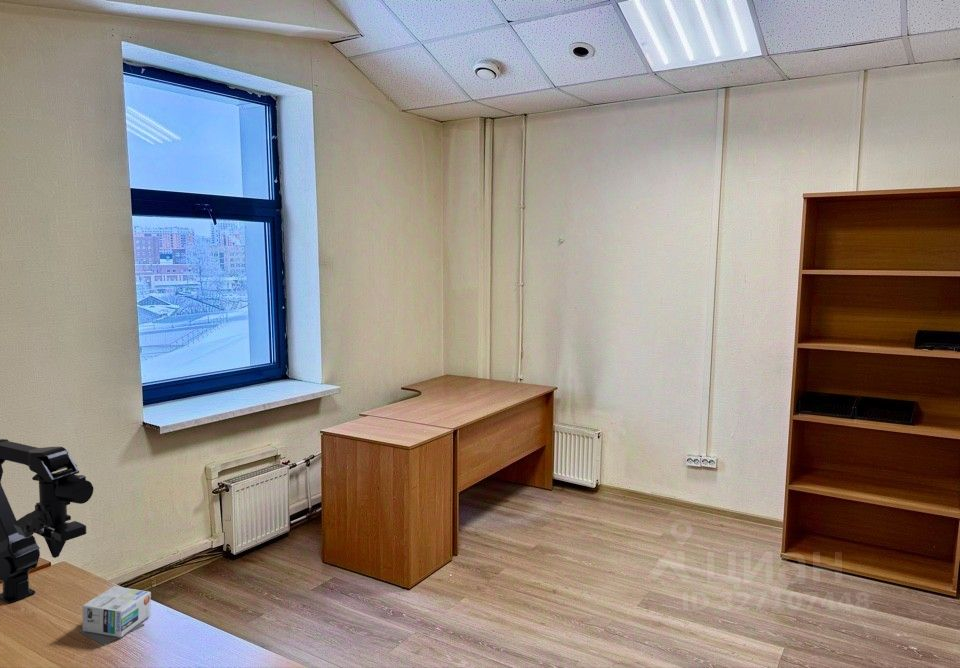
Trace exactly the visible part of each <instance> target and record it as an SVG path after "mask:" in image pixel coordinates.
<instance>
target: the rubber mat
mask: <svg viewBox="0 0 960 668" xmlns="http://www.w3.org/2000/svg"><path fill="white" fill-rule="evenodd" d="M142 627H145V624H144V623H142V622H141V623H139V624H138V625H137V626H135V627H134V628H133V629H131V630H130V631H129V632H128V633H126V634H125V635H124V636H126V635H128V634H130V633H133V632H134V631H136V630H138V629H140V628H142ZM79 633H80V634H81V635H84V636H86V637H88V638H90V639H92V640H93V641H95V642H97V643H98V644H99V643H100V644H101V645H103V646H106V645H109V643H112V642H114V641H116V640H118V639H120V638H121V637H115V636H110V635H104V634H98V633H92V632H86V631H83V629H82V630H81V629H80V630H79Z"/></svg>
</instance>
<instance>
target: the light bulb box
mask: <svg viewBox="0 0 960 668" xmlns="http://www.w3.org/2000/svg"><path fill="white" fill-rule="evenodd" d="M151 599H152V592H151V591H147V590H142V589H141V590H140V589H136V588H128V587H122V586H117V585H114V586H112V587H110V588H109V589H107V590H105V591H104V592H102V593H100V594H99V595H97V596H96V597H94V598H93V599H91V600H89V601H87V602H86V603H85V604H83V605H82V630H83V631H86V632H92V633H98V634H104V635H110V636H115V637H120V638H123V637H125V636H126V635H127V634H126V633H128V632H129V631H130V630H131V629H133V628H134V627H135V626H137V625H138V624H139V623H142V622H143V621H145V620H147V619H148V618H149V617H150V616H151V607H152V606H151ZM125 634H126V635H125ZM128 634H129V633H128Z"/></svg>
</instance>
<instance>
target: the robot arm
mask: <svg viewBox="0 0 960 668" xmlns="http://www.w3.org/2000/svg"><path fill="white" fill-rule="evenodd" d="M6 461H9V462H12V463H16V464H20V465H24V466H28V468H29V470H30V471H31V472H33V473H36V474H35V475H33V477H32V481H36V482H38V495H39V497H38V498H39V502H35V505H34V510H33V511H31V512H29V513H27V514H25V515H23V516H22V517H20V518H19V519H16V518H17V517H16V516H15V514H14V511H13V509H12V506H11V504H10V502H9V499H8V497H7V496H6V493H5V490H4V488H3V485H2V479H3V473H4V469H3V466H2V465H3V464H4V463H5V462H6ZM63 469H64V470H63ZM79 473H80V470H79V468H78V465H77V463H76V462H75V461H74V460H73V458H72V456H71V455H70V453H69V451H68V449H66V448H65V447H64V446H48V447H47V446H46V447H36V446H32V445H28V444H23V443H18V442H14V441H10V440H8V439H5V438H0V581H1V583H2V592H1V593H0V600H1V601H4V602H5V603H8V604H12V603H13V602H16V601H19V600H21V599H24V598H27V597H30V596H31V595H34V594H36V590H35V589H32V588H30V579H29V571H30V570H33V569H36V568H37V567H38V563H39V559H40V557H41V552H40V548H41V547H39V545H38V543H37V541H36V537H35V536H34V534H37V535H39V536H40V537H43V539H44V541H45V543H46V545H47V547H48V550H49V552H50V554H51V556H52V558H54V559H56V558H58V557H59V556H60V554H61V552H62V550H63V548H64V546H65V544H66V542H67V541H70V540H73V539H75V538H79V537H82V536H84V535H86V534H87V533H88V532H87V525H86V524H83V523H82V522H79V521H76V520H74V521H73V520H72V516H71V515H70V514H68V508H67V507H68V505H71V503H72V504H73V503H74V504H79V505H80V504H81V505H83V504H85V503H87V502H89V501H90V499H92V496H93V494H94V486H93V484H92V483H91V481H90V480H88V479H87V477H86V475H85V474H83V475H82V474H79ZM78 474H79V475H78ZM86 479H87V480H86ZM71 520H72V521H71ZM68 521H71V522H68Z"/></svg>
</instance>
